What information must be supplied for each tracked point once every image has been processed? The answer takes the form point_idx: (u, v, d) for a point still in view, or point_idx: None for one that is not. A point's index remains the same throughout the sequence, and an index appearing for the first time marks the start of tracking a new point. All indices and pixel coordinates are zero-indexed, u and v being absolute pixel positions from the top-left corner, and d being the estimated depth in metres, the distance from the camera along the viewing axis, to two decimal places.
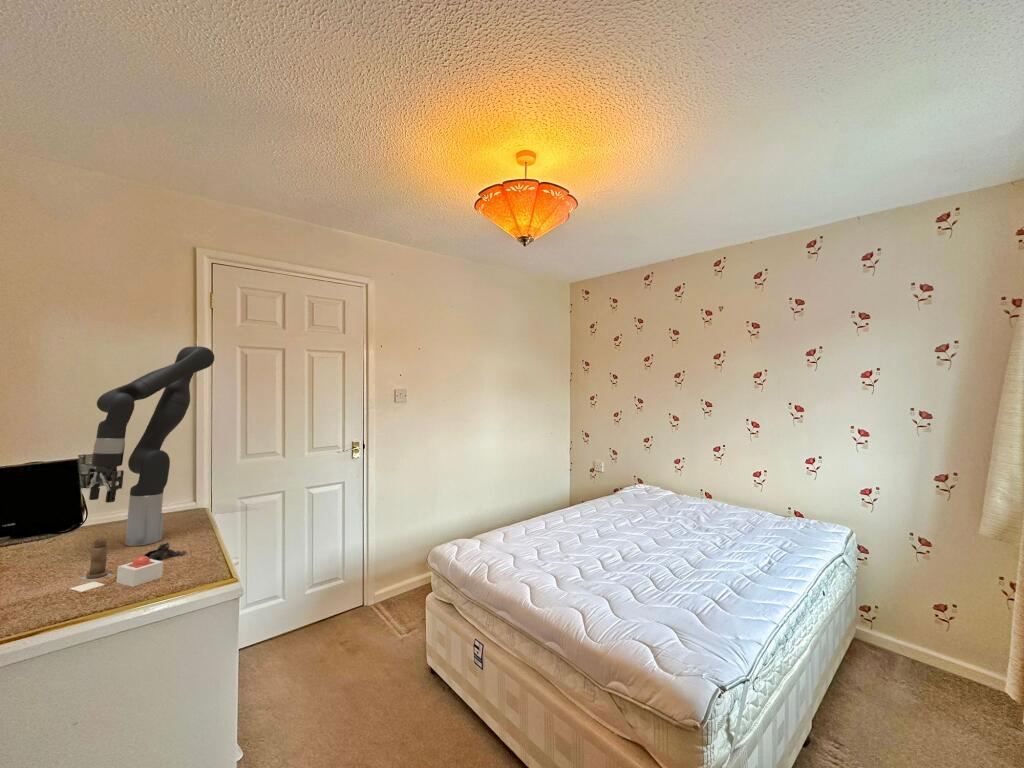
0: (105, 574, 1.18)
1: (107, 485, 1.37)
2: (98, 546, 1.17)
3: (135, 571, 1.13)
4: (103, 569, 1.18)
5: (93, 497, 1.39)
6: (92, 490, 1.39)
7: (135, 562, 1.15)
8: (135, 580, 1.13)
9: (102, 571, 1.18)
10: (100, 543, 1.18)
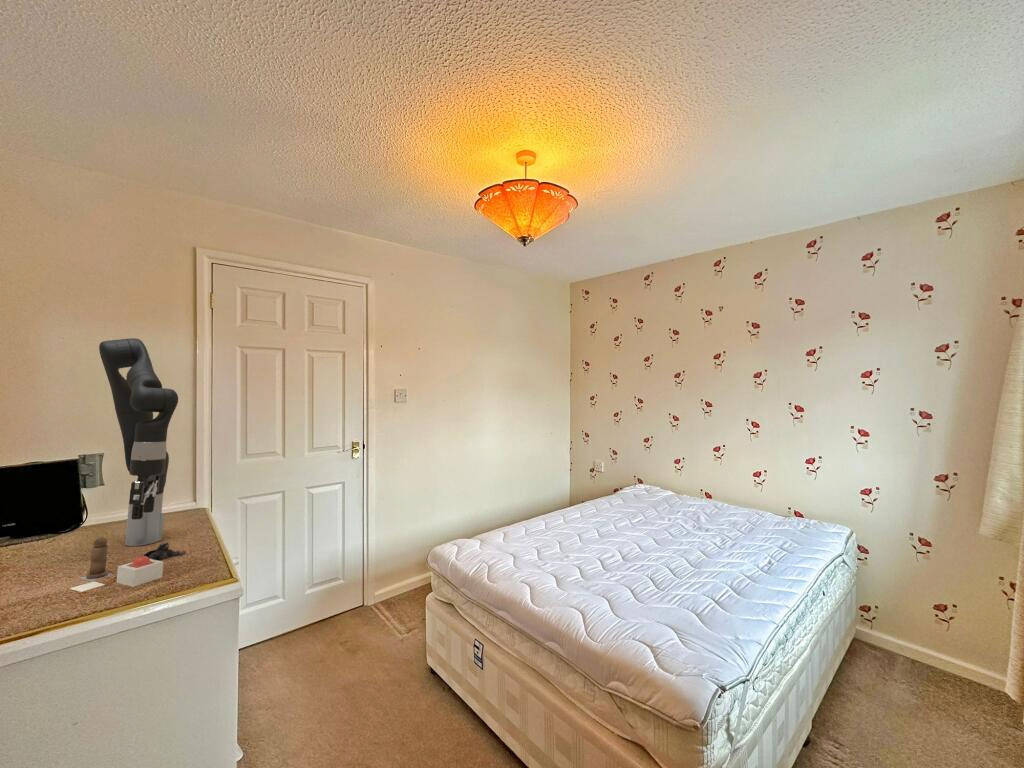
0: (105, 574, 1.18)
1: (155, 492, 1.22)
2: (98, 546, 1.17)
3: (135, 571, 1.13)
4: (103, 569, 1.18)
5: None
6: None
7: (135, 562, 1.15)
8: (135, 580, 1.13)
9: (102, 571, 1.18)
10: (100, 543, 1.18)
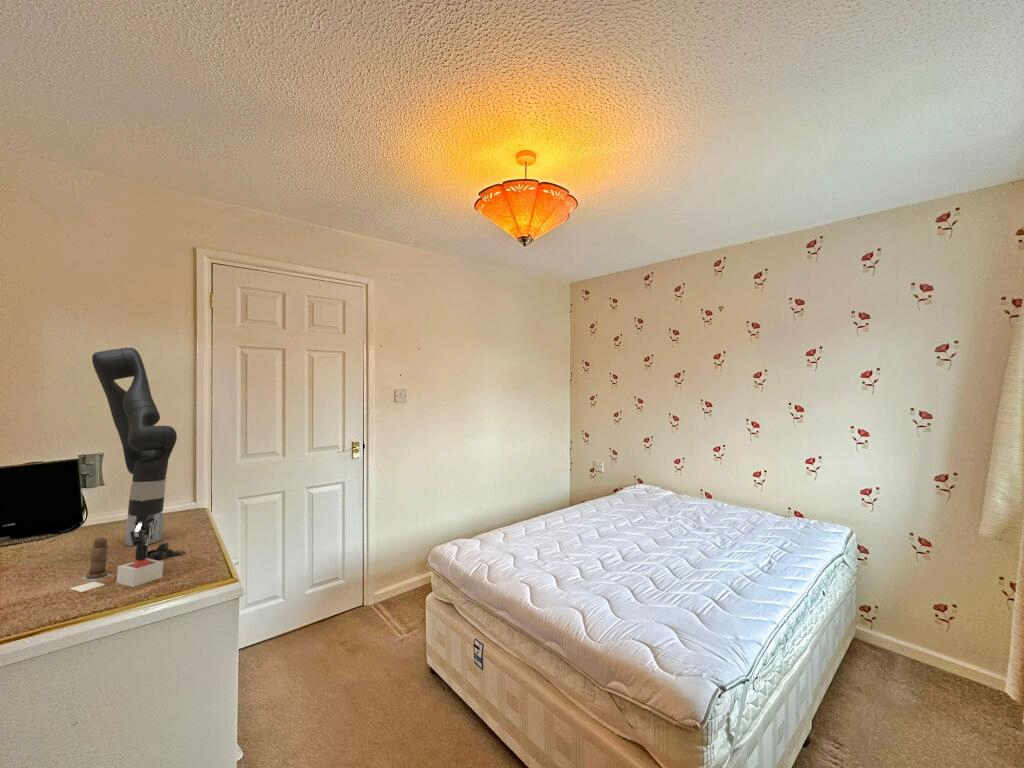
0: (105, 574, 1.18)
1: (150, 536, 1.19)
2: (98, 546, 1.17)
3: (135, 571, 1.13)
4: (103, 569, 1.18)
5: None
6: None
7: (135, 565, 1.15)
8: (135, 580, 1.13)
9: (102, 571, 1.18)
10: (100, 543, 1.18)
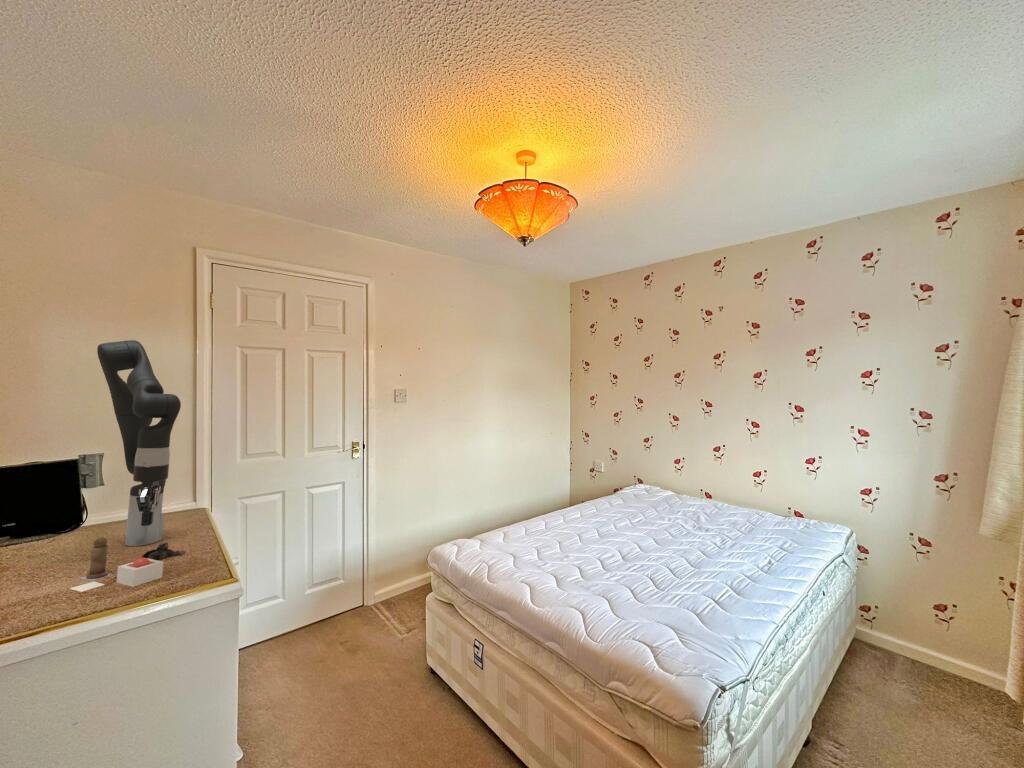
0: (105, 574, 1.18)
1: (155, 503, 1.20)
2: (98, 546, 1.17)
3: (135, 571, 1.13)
4: (103, 569, 1.18)
5: None
6: None
7: (135, 564, 1.15)
8: (135, 580, 1.13)
9: (102, 571, 1.18)
10: (100, 543, 1.18)
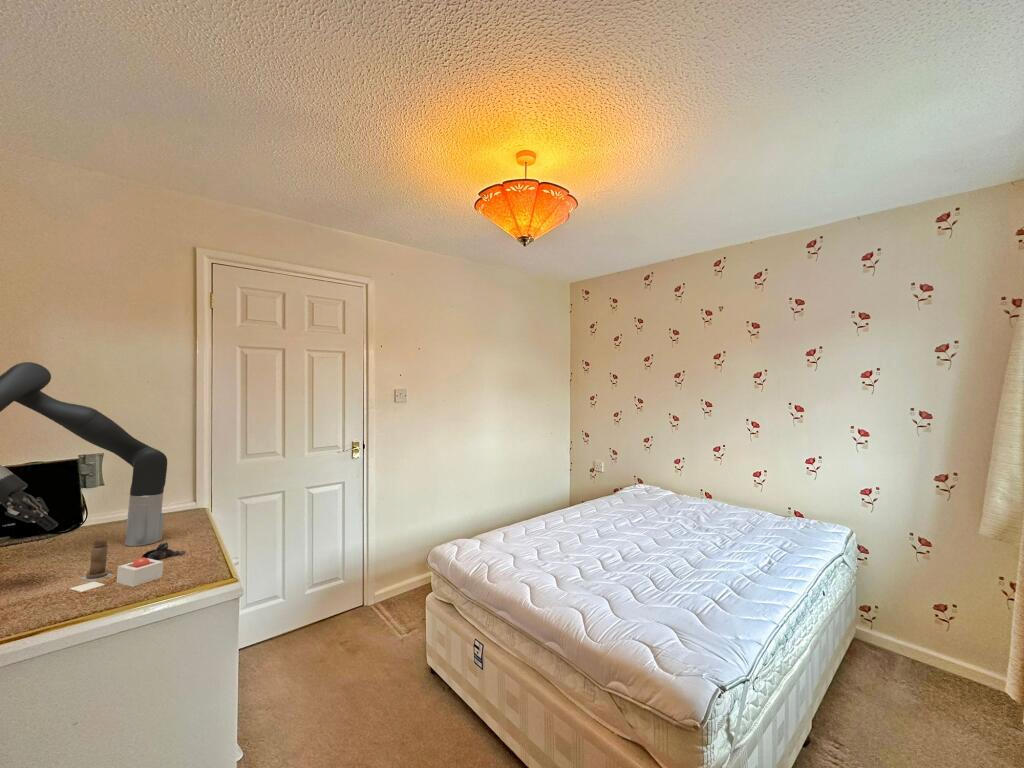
0: (105, 574, 1.18)
1: (42, 509, 1.14)
2: (98, 546, 1.17)
3: (135, 571, 1.13)
4: (103, 569, 1.18)
5: None
6: None
7: (135, 564, 1.15)
8: (135, 580, 1.13)
9: (102, 571, 1.18)
10: (100, 543, 1.18)
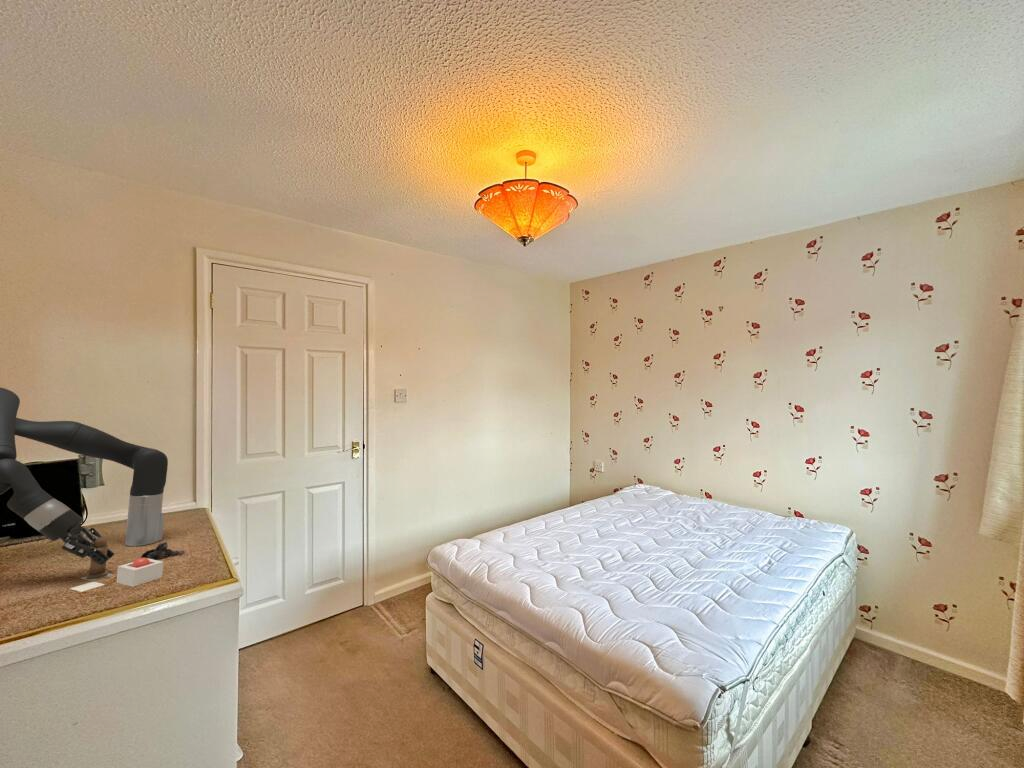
0: (105, 574, 1.18)
1: None
2: (98, 546, 1.17)
3: (135, 571, 1.13)
4: (103, 569, 1.18)
5: None
6: None
7: (135, 564, 1.15)
8: (135, 580, 1.13)
9: (102, 571, 1.18)
10: (100, 543, 1.18)
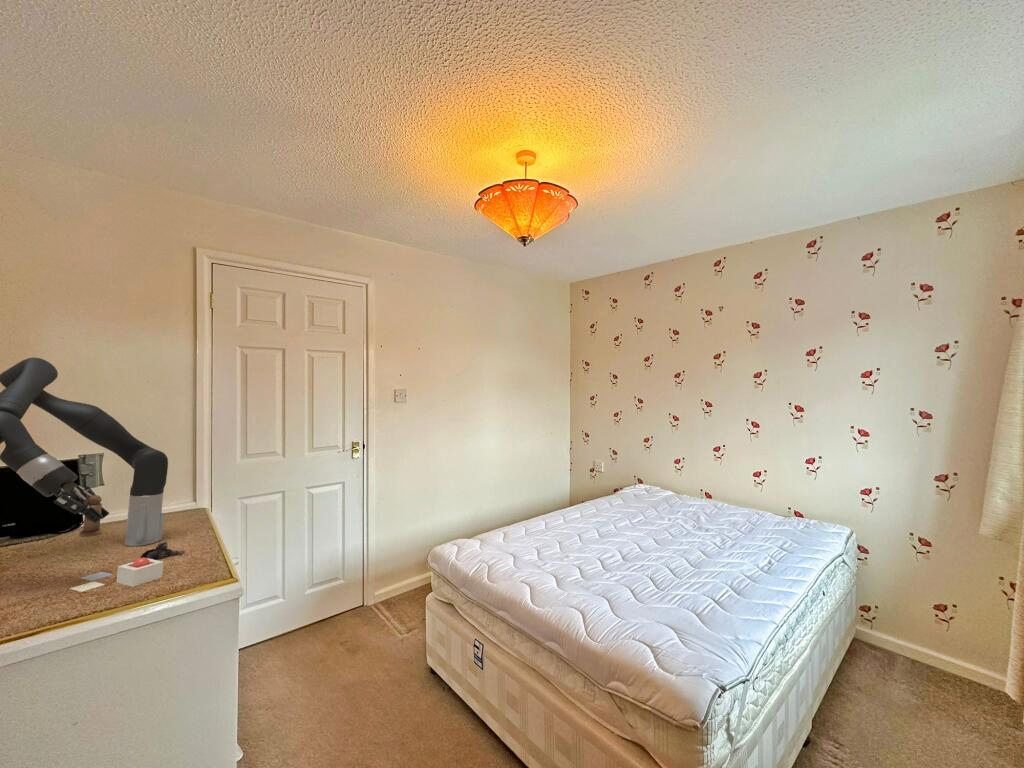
0: (99, 533, 1.15)
1: None
2: (92, 504, 1.15)
3: (135, 571, 1.13)
4: (97, 527, 1.15)
5: None
6: None
7: (135, 564, 1.15)
8: (135, 580, 1.13)
9: (96, 529, 1.15)
10: (94, 501, 1.15)
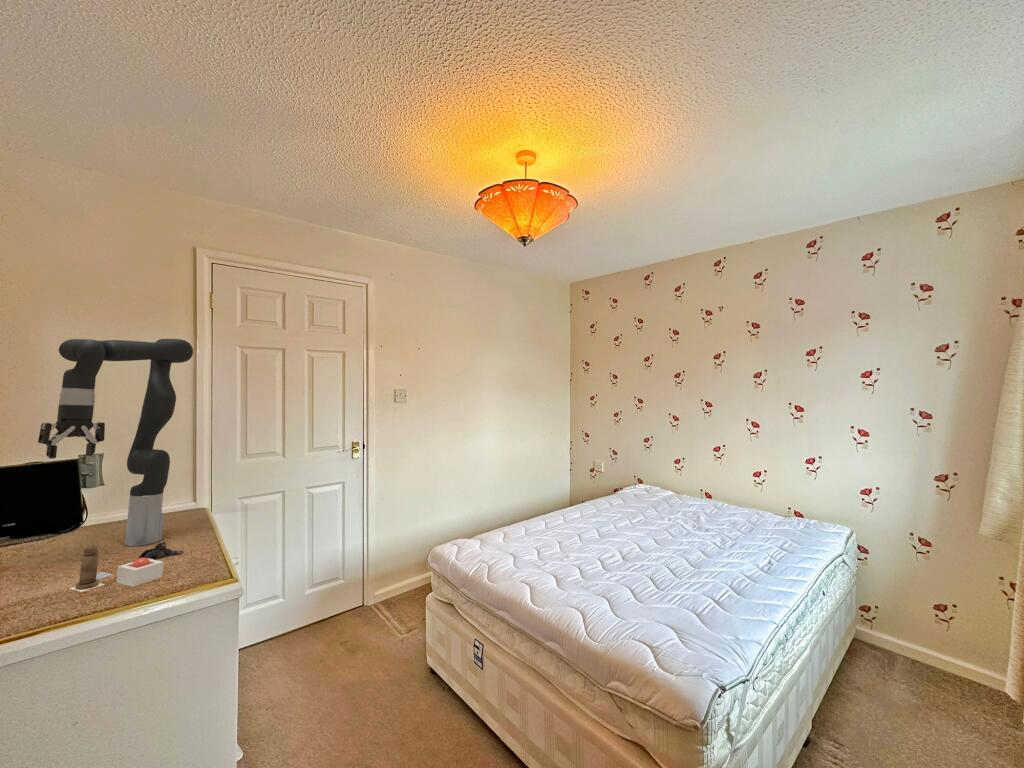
0: (96, 584, 1.11)
1: (92, 438, 1.30)
2: (88, 555, 1.11)
3: (135, 571, 1.13)
4: (93, 579, 1.11)
5: None
6: None
7: (135, 564, 1.15)
8: (135, 580, 1.13)
9: (92, 581, 1.11)
10: (90, 551, 1.11)
